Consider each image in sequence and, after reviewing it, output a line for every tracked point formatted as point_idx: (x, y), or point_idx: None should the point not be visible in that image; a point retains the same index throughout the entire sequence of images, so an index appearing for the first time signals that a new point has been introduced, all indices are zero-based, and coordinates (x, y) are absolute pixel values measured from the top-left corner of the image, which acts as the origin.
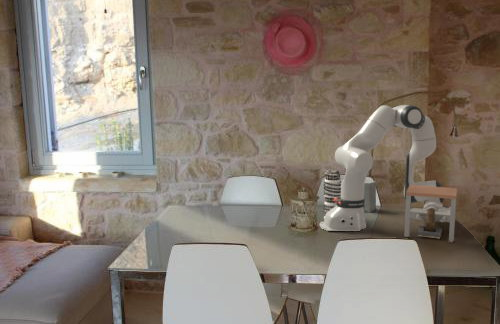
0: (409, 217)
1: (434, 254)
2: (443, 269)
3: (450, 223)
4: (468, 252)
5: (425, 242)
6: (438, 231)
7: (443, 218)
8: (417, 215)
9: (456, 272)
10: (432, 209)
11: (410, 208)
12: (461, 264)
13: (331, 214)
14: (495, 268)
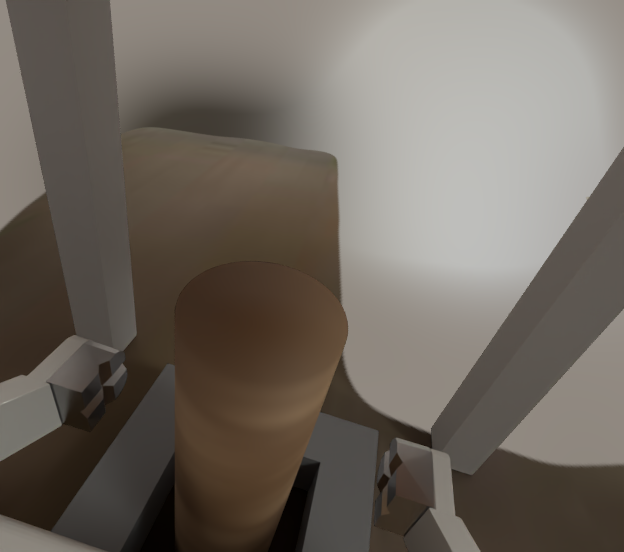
0: (528, 291)
1: (297, 222)
2: (296, 157)
3: (119, 190)
4: None
5: None
6: (148, 443)
7: (23, 380)
8: (476, 547)
9: (264, 144)
10: (219, 336)
11: (606, 231)
12: (223, 163)
13: None
14: None
